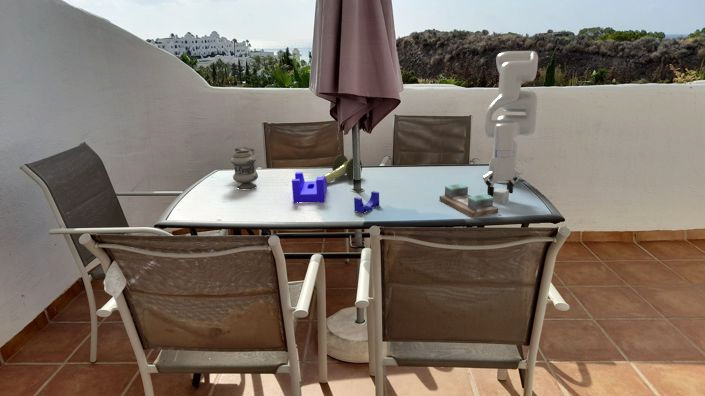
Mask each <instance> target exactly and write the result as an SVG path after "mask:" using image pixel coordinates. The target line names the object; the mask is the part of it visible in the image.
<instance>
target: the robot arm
mask: <svg viewBox="0 0 705 396" xmlns="http://www.w3.org/2000/svg"><path fill="white" fill-rule="evenodd" d="M495 61H496V68H497V71H498V73H499V79H498V80H499V81H498V89H497V97H496V98H494V100H493V101H492V102H491V103H490V104H489V106H488V108H487V109H486V112H485V115H484V125H483V133H484V134H483V135H484V136H485V137H486V138H488V139H493V150H492V156H491V157H490V160H489V165H488V170H487V173H486V174H485V175H483V177H482V179H483V181H484V183H485V185H486V186H487V195H488V196H493V195H494V190H495V187H494V186H495V184H497V183H498V184H506V189H507V190H509V194H514V193H513V192H514V185H515V184H516V183H518V181H519V178H518V177H519V176H523V175H524V170H519V171H518V170H516V169H517V157H518V156H517V155H518V143H517V141H516V138H518V137H519V136H520V137H521V136H522V137H523V136H524V137H529V136H533V135H534V133H535V130H536V123H537V122H536V120H537V109H538V106H537V105H538V96H537V94H536V92H535V91H534V90H533V91H532V90H521V89H522V88H521V86H522V82H533V81H534V80H535V79H536V76H537V71H538V64H539V63H538V62H539V55H538V53H537V52H536V51H535V50H511V51H508V50H507V51H502V52H500V53H498V54H497V55H496V58H495ZM499 109H501V110H502V111H503V112H509V113H525V114H502V115H499V116H498V117H497V118H496V119H494V120H493V119H492V118H493V115H494V113H495V112H496V111H497V110H499Z"/></svg>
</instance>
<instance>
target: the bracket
mask: <svg viewBox="0 0 705 396" xmlns="http://www.w3.org/2000/svg"><path fill="white" fill-rule="evenodd" d="M291 188H292V202H293V204H300V203H299V202H315V203H325V202H326V199H325V198H326V194H327V190H328V183H327V179H326V178H325V177H322V176H317V177H316V180H315V181H313V180H310V181H305V177H304V173H303V171H298V172H297V171H296V172H295V173H294V178H292V180H291ZM297 202H298V203H297Z"/></svg>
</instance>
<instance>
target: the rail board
mask: <svg viewBox="0 0 705 396" xmlns="http://www.w3.org/2000/svg"><path fill="white" fill-rule="evenodd" d="M468 192H469V186H467V185H465V184H463V183H458V184H452V185H445V186H444V194H443V195H439V201H440V202H441V203H443V204H445V205H447V206H448V207H451V208H453V209H455V210H457V211H459V212H460V213H462V214H463V215H465V216H467V217H470V218H471V219H473V218H478V217H484V216H489V215H495V214H496V215H497V214H498V213H499V208H498V207H496V206H494V202H493V197H491V196H490V195H488V194H479V195H473V196H472V195H471V194H469V193H468Z"/></svg>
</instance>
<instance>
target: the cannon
mask: <svg viewBox="0 0 705 396" xmlns="http://www.w3.org/2000/svg"><path fill="white" fill-rule="evenodd" d="M353 158H354V157H350V159H348V158H347V156H345V155H343V154H339V155H337V156H335V158H334V160H333V162H332V164H331V165H332V167H331V168H332V171H331V172H328V173H326V174H323V175H322V176H321V177H325V178H326V179H327V184H329V183H331V182H333V181H334V180H335V179H337V178H340V177H344V176H345V175H346V176H347V178H348V179H349V180H352V181H353ZM360 165H361V173H362V171H363V164H362V160H360Z"/></svg>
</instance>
